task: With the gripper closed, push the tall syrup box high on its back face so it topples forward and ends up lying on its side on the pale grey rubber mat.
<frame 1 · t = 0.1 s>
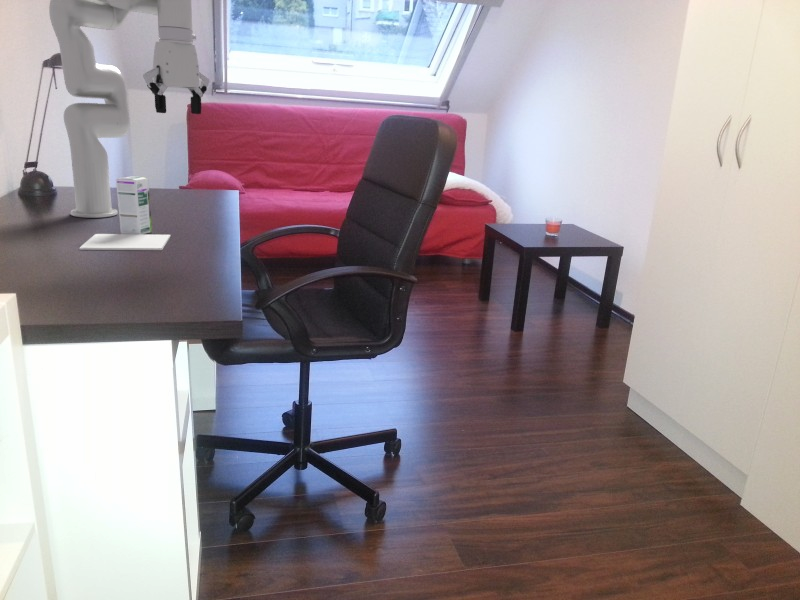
hand: (179, 113, 156), 31 cm above the table, tool pointing down, fingers open, 9 cm apart
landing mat: (127, 242, 158), on the table
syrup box: (136, 233, 169), on the table
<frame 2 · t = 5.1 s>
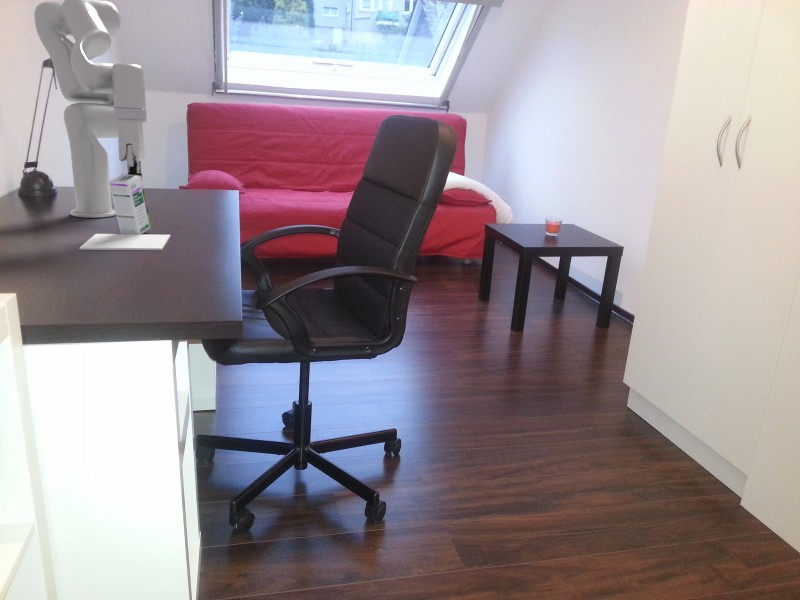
hand: (135, 188, 168), 11 cm above the table, tool pointing down, fingers closed
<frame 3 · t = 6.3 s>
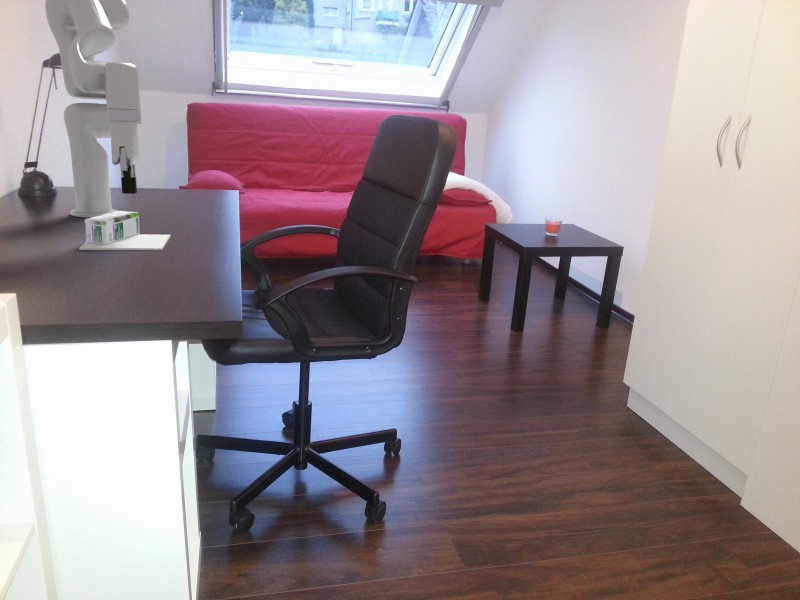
hand: (129, 193, 161), 11 cm above the table, tool pointing down, fingers closed
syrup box: (129, 222, 166), point 3 cm above the table, touching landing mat
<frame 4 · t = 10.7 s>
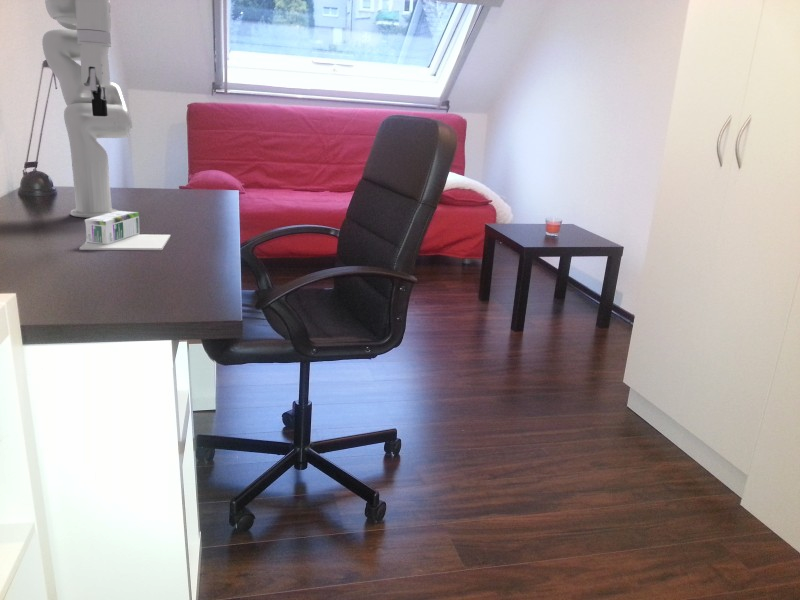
hand: (100, 115, 165), 29 cm above the table, tool pointing down, fingers closed
nothing on the table moved.
at the end: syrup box tilted 90°; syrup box touching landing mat; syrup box inside the target area (6.0 cm from its centre), point 3.3 cm above the table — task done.
